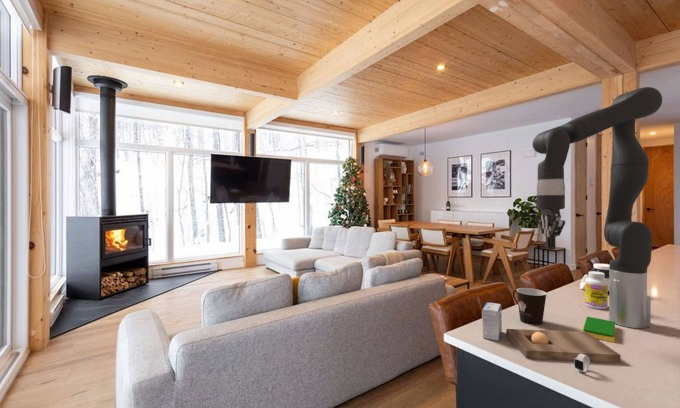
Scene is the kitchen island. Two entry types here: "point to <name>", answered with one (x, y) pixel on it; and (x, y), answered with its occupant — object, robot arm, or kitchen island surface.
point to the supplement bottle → (596, 291)
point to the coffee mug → (530, 305)
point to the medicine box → (492, 321)
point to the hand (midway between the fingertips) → (550, 248)
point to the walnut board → (562, 345)
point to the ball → (539, 338)
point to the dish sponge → (600, 328)
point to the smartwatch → (582, 362)
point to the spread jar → (597, 268)
